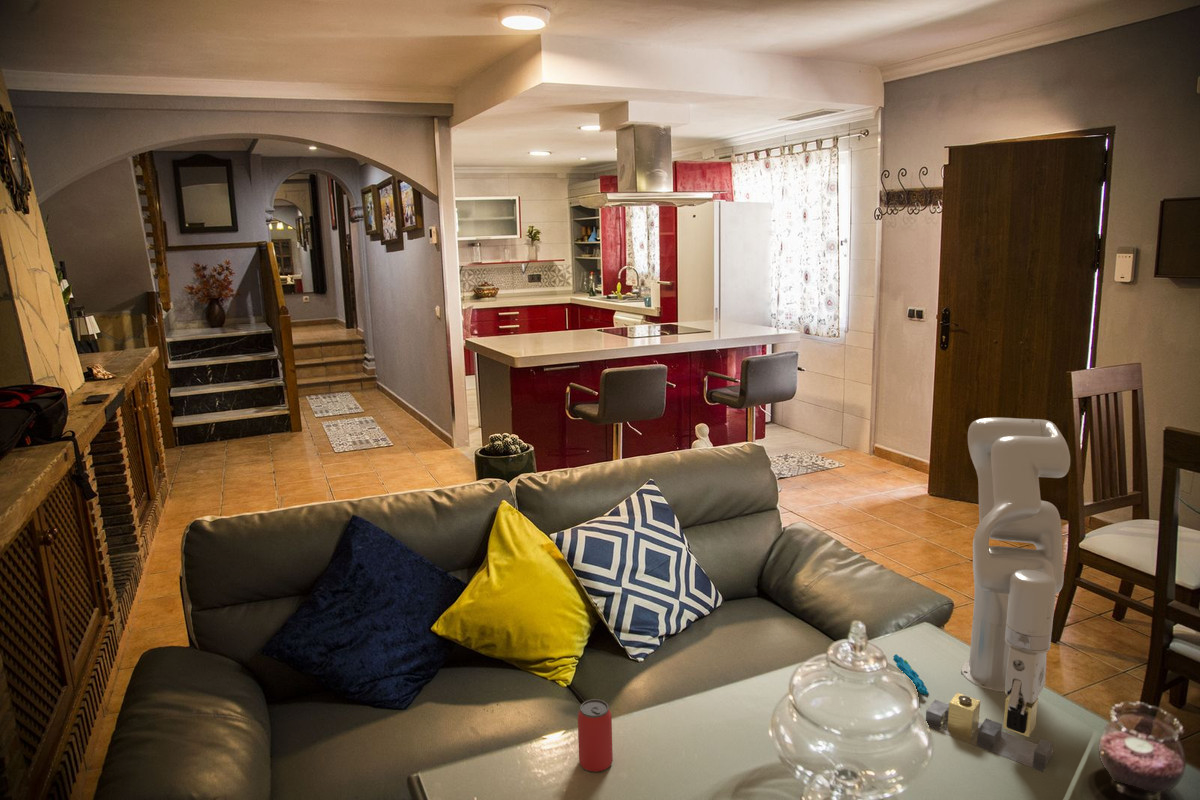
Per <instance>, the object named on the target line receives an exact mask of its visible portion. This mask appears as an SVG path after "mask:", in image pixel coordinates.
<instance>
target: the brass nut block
mask: <svg viewBox="0 0 1200 800" xmlns="http://www.w3.org/2000/svg"><path fill="white" fill-rule="evenodd" d="M1020 696H1022V697H1023V695H1022V694H1020ZM1009 699H1010V695H1009V696H1006V698H1005V700H1004V701H1005V702H1004V712H1003V713H1004V716H1003V722H1002V723H1003V724H1002V729H1006V730H1008V731H1011V732H1014V733H1015V734H1019V735H1022V736H1025V737H1027V738H1030V736H1031V734H1032V732H1033V730H1034V729H1035V728H1036V724H1037V715H1038V713H1037V712H1038V705H1039V697H1037V699H1036V700H1035V702H1033V703H1031V704H1030V703H1029V702H1027V705H1026V712H1025V713H1027V721H1026V731H1025V733H1020V732H1018V731H1015V730H1012V729H1009V728H1007V726H1006V724H1007V713H1008V705H1009ZM1022 702H1023V701H1020V700H1018V703H1019V704H1021V706H1022Z"/></svg>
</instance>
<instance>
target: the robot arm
mask: <svg viewBox="0 0 1200 800" xmlns="http://www.w3.org/2000/svg"><path fill="white" fill-rule="evenodd" d="M967 446H968V447H967V448H968V451H969V454H970V455H969V456H970V459H971V461H972V464H973V466H974V469H975V472H976V475H977V476H976V477H977V480H978V519H979V524H978V525H977V527H976V529H975V531H974V535H973V539H972V571H973V583H974V584H973V585H974V599H973V600H974V601H973V610H972V611H973V613H972V614H973V615H972V625H971V637H970V639H971V640H970V650H969V660H968V661H967V662H964V664H962V665H961V669H960V675H962V676H963V677H964V678H965V679H966V680H967V681H969V682H970V683H972V684H973V685H975V686H978V687H980V688H983V689H986V690H990V691H994V692H995V691H996V692H1004V694H1005V695H1006V697H1008V696H1009V695H1010V699H1009V705H1008V713H1007V724H1006V726H1007V728H1009V729H1012V730H1015V731H1018V732H1020V733H1025V731H1026V721H1027V713H1025V712H1026V705H1027V702H1029V703H1030V704H1031V703H1033V702H1035V700H1036V699H1037V698H1039V695H1040V694H1041V692H1042V691H1043V689H1044V687H1045V684H1046V676H1047V672H1046V671H1047V655H1048V654H1047V652H1049V651H1050V650H1051V642H1052V634H1053V633H1052V632H1053V623H1054V622H1053V621H1054V615H1055V604H1056V595H1057V594H1059V593H1060V592H1061V590H1062V589H1063V587H1064V579H1065V573H1064V570H1065V569H1064V553H1063V552H1064V551H1063V550H1064V549H1063V548H1064V547H1063V535H1062V534H1063V533H1062V532H1063V531H1062V529H1063V528H1062V520H1061V516H1060V513H1059V510H1058V508H1057V507H1056V506H1055V505H1054V504H1053V503H1051V502H1050V501H1046V500H1042V499H1041V490H1040V479H1039V478H1053V479H1060V478H1063V477H1066V475H1067V474H1068V473H1069V470H1070V467H1071V454H1070V453H1071V452H1070V450H1069V445H1068V443H1067V441H1066V439H1065V438H1064V436H1063V434H1062V432H1061V431H1060V429H1059V428H1058V427H1057V425H1056V424H1055V423H1053V421H1050V420H1047V419H1040V418H1037V419H1036V418H1018V417H1017V418H1014V417H983V418H978V419H976V420H974V421H972V422H971V423H970V425H969V426H968V431H967ZM990 540H994V541H995V540H996V541H1002V542H1016V543H1028V544H1033V545H1034V546H1035V548H1036V549H1035V548H1025V547H1023V548H1022V547H1013V546H1001V545H990ZM1020 694H1022V695H1023V697H1022V696H1020ZM1018 700H1020V701H1023V702H1022V706H1021V704H1019V703H1018Z"/></svg>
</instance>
